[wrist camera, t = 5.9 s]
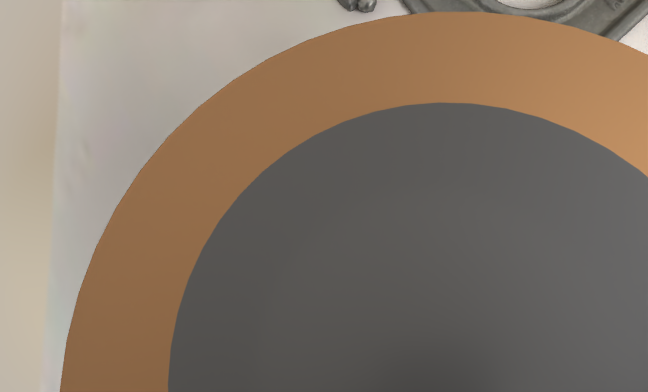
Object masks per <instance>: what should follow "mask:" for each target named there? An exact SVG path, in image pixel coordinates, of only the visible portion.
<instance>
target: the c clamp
mask: <svg viewBox="0 0 648 392" xmlns="http://www.w3.org/2000/svg"><path fill="white" fill-rule="evenodd" d="M403 1H404V3H405V4H406V6H407V7H408V8H409V10H410V11H411V12H412V13H413V14H420V13H429V12H487V13H496V14H506V15H515V16H525V17H530V18H535V19H539V20H544V21H549V22H553V23H558V24H563V25H567V26H572V27H575V28H578V29H581V30H584V31H587V32H590V33H593V34H596V35H599V36H602V37H605V38H608V39H611V40H614V41H617V42H618V41H619V40H620V39H621V38H622V37H623V36H624V35H625V34H627V33H628V32H629V31H630V30H631V29H632V28H633V27H634V26H635V25H636V24H637V23H639V22H640V21H641V20H642V19H643V18H644V17H645V16H646V15H647V14H648V0H562V1H561V2H560V3H558V4H555V5H553V6H550V7H546V8H542V9H519V8H514V7H510V6H507V5H504V4H502V3H500V2H498V1H497V0H403ZM338 2H339V3H340V4H341V5H342V6H343V7H344V8H346V9H347V10H348V11H353V10H354V9H355V8H356V7H358V8H359V10H360V11H363V12H365V13H366V12H369V11H373V10H374V8H375V5H376V0H338Z"/></svg>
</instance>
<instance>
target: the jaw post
mask: <svg viewBox="0 0 648 392" xmlns="http://www.w3.org/2000/svg"><path fill="white" fill-rule="evenodd" d="M60 392H648V55H647V54H645V53H642V52H640V51H638V50H636V49H634V48H631V47H629V46H627V45H625V44H623V43H620V42H617V41H614V40H611V39H608V38H605V37H602V36H599V35H596V34H593V33H590V32H587V31H584V30H581V29H578V28H575V27H572V26H567V25H563V24H558V23H553V22H549V21H544V20H539V19H535V18H530V17H525V16H515V15H506V14H496V13H487V12H429V13H420V14H411V15H402V16H393V17H387V18H383V19H378V20H374V21H370V22H365V23H361V24H356V25H352V26H347V27H345V28H342V29H339V30H336V31H333V32H330V33H327V34H324V35H321V36H318V37H315V38H313V39H310V40H307V41H305V42H303V43H300V44H298V45H296V46H294V47H292V48H290V49H288V50H286V51H284V52H281V53H279V54H277V55H275V56H273V57H271V58H269V59H267V60H265V61H264V62H262V63H261V64H259V65H257V66H256V67H254V68H252V69H251V70H249V71H248V72H246V73H244V74H243V75H241V76H239V77H238V78H236V79H235V80H233V81H232V82H230V83H229V84H228V85H226V86H225V87H224V88H223V89H221V90H220V91H219V92H217V93H216V94H215V95H214V96H212V97H211V98H210V99H208V100H207V101H206V102H205V103H203V104H202V105H201V106H199V107H198V108H197V109H196V110H195V111H194V112H193V113H192V114H191V115H190V116H189V117H188V118H187V119H186V120H185V121H184V122H183V123H182V124H181V125H180V126H179V127H178V128H177V129H176V130H175V131H174V132H173V133H172V134H171V135H170V136H168V138H167V139H166V140H165V141H164V142H163V144H162V145H161V146H160V147H159V149H158V150H157V151H156V152H155V153H154V155H153V156H152V157H151V158H150V159H149V161H148V162H147V163H146V164H145V166H144V167H143V168H142V169H141V170H140V172H139V173H138V175H137V176H136V178H135V180H134V181H133V183H132V184H131V186H130V187H129V189H128V190H127V192H126V193H125V195H124V196H123V198H122V199H121V201H120V203H119V204H118V206H117V207H116V209H115V211H114V213H113V215H112V217H111V219H110V221H109V223H108V225H107V227H106V229H105V231H104V233H103V235H102V237H101V239H100V240H99V242H98V244H97V246H96V248H95V251H94V254H93V256H92V259H91V262H90V264H89V267H88V270H87V272H86V275H85V278H84V280H83V283H82V286H81V288H80V291H79V294H78V298H77V302H76V306H75V310H74V314H73V318H72V322H71V326H70V330H69V334H68V337H67V342H66V349H65V357H64V364H63V371H62V378H61V386H60Z"/></svg>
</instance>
